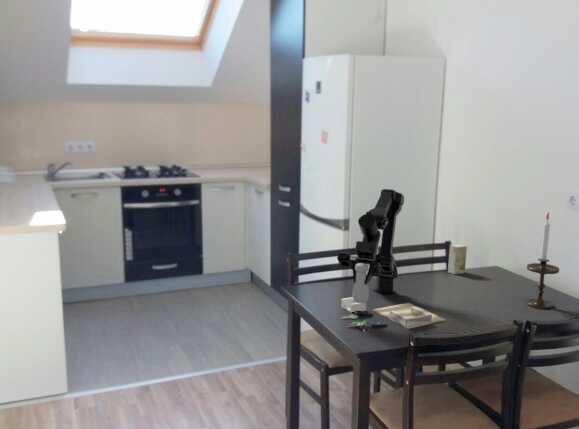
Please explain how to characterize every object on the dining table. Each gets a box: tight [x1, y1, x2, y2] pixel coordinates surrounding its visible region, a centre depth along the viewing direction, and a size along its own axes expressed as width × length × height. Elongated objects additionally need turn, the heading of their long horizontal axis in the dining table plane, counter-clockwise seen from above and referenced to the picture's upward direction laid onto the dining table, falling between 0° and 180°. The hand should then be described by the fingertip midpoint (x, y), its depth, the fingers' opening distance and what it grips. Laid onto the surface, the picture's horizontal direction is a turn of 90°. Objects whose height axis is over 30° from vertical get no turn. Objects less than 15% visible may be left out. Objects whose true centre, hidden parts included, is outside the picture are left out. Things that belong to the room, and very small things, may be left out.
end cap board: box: [372, 302, 446, 329], centre depth 205 cm, size 19×16×3 cm
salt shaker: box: [351, 263, 370, 303], centre depth 199 cm, size 6×6×13 cm
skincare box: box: [447, 243, 468, 275], centre depth 259 cm, size 6×4×12 cm
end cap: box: [340, 296, 367, 314], centre depth 212 cm, size 6×7×3 cm
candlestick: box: [526, 211, 560, 310], centre depth 215 cm, size 11×11×35 cm
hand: (359, 283), depth 198 cm, fingers closed on salt shaker, 3 cm apart
